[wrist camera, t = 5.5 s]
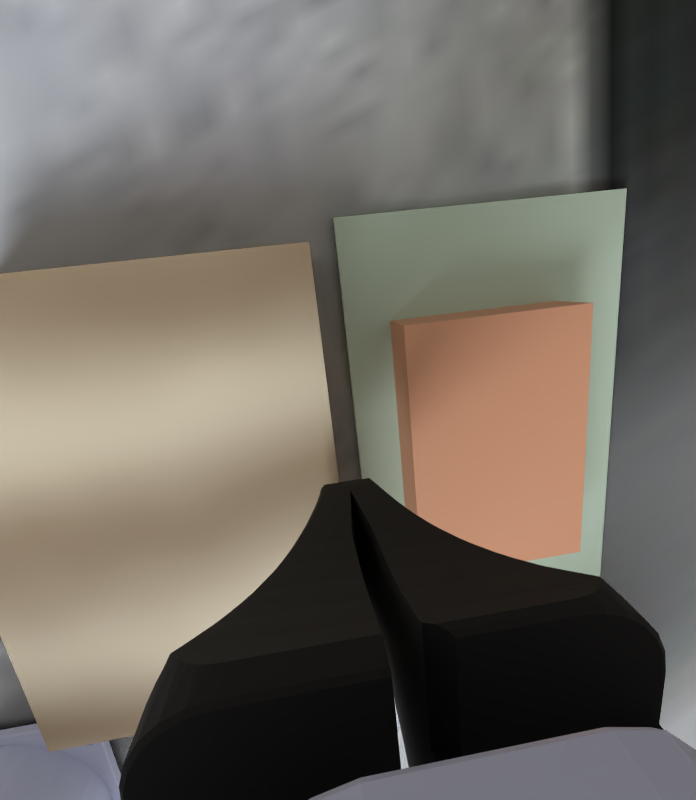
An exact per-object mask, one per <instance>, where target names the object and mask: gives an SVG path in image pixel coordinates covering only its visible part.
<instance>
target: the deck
mask: <svg viewBox="0 0 696 800" xmlns="http://www.w3.org/2000/svg"><path fill="white" fill-rule="evenodd" d="M333 483H339V476H338V468H337V460H336V452H335V444H334V436H333V428H332V420H331V412H330V404H329V396H328V388H327V380H326V373H325V365H324V357H323V349H322V341H321V333H320V325H319V317H318V309H317V301H316V293H315V285H314V277H313V269H312V261H311V253H310V245H309V241H308V242H299V243H289V244H279V245H270V246H260V247H250V248H241V249H231V250H222V251H212V252H202V253H193V254H183V255H173V256H164V257H154V258H144V259H135V260H125V261H115V262H106V263H96V264H86V265H77V266H67V267H58V268H48V269H38V270H29V271H19V272H9V273H0V637H1V639H2V641H3V644H4V646H5V648H6V651H7V653H8V656H9V658H10V660H11V663H12V665H13V668H14V670H15V672H16V675H17V677H18V679H19V682H20V684H21V687H22V689H23V691H24V694H25V696H26V699H27V701H28V703H29V706H30V708H31V710H32V713H33V715H34V718H35V720H36V722H37V725H38V727H39V730H40V732H41V734H42V737H43V739H44V742H45V744H46V746H47V749H48V751H49V752H52V751H57V750H62V749H67V748H73V747H78V746H83V745H88V744H93V743H99V742H104V741H109V740H114V739H120V738H125V737H130V736H134V735H135V732H136V729H137V727H138V724H139V721H140V719H141V716H142V713H143V711H144V708H145V705H146V703H147V701H148V699H149V696H150V694H151V692H152V690H153V688H154V685H155V683H156V681H157V679H158V677H159V676H160V674H161V672H162V670H163V668H164V666H165V664H166V661H167V659H168V657H169V655H170V654H171V653H172V652H173V651H175V650H176V649H178V648H180V647H181V646H183V645H184V644H186V643H187V642H189V641H190V640H192V639H193V638H195V637H196V636H197V635H199V634H200V633H202V632H203V631H205V630H206V629H208V628H209V627H211V626H212V625H214V624H215V623H216V622H218V621H219V620H220V619H222V618H223V617H224V616H226V615H227V614H228V613H229V612H231V611H232V610H233V609H234V608H236V607H237V606H238V605H239V604H240V603H242V602H243V601H244V600H245V599H246V598H247V597H248V596H250V595H251V594H252V593H253V592H254V591H255V590H256V589H257V588H258V587H259V586H260V585H261V584H262V583H263V582H264V581H265V580H266V579H267V578H268V577H269V576H270V575H271V574H272V573H273V572H274V571H275V569H276V568H277V567H278V566H279V564H280V563H281V562H282V561H283V559H284V558H285V557H286V555H287V554H288V553H289V551H290V550H291V548H292V547H293V546H294V544H295V543H296V541H297V539H298V538H299V536H300V534H301V533H302V531H303V529H304V528H305V526H306V524H307V522H308V520H309V518H310V516H311V514H312V512H313V510H314V508H315V506H316V503H317V501H318V498H319V495H320V491H321V488H322V487H323V486H324V485H326V484H333Z"/></svg>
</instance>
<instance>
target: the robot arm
mask: <svg viewBox="0 0 696 800" xmlns="http://www.w3.org/2000/svg"><path fill="white" fill-rule="evenodd" d="M665 672H666V665H665V649H664V647H663V644H662V642H661V639H660V637H659V634H658V633H657V632H656V631H655V630H654V628H653V627H652V626H651V625H650V624H649V623H648V622H647V621H646V620H645V619H644V618H643V617H642V616H641V615H640V614H639V613H638V612H637V611H636V610H635V609H634V608H633V607H632V606H631V605H630V604H629V603H628V602H627V601H626V600H625V599H624V598H623V597H622V596H621V595H620V594H618V593H617V592H616V591H615V590H614V589H613V588H612V587H611V586H610V585H609V584H607V583H606V582H605V581H604V580H603V579H601V578H600V577H599V576H594V575H589V574H583V573H578V572H573V571H567V570H562V569H557V568H551V567H546V566H542V565H538V564H534V563H531V562H527V561H523V560H519V559H516V558H512V557H509V556H506V555H503V554H499V553H496V552H493V551H491V550H488V549H485V548H483V547H480V546H477V545H475V544H472V543H470V542H467V541H465V540H463V539H460V538H458V537H456V536H454V535H452V534H450V533H448V532H446V531H444V530H442V529H440V528H438V527H436V526H434V525H432V524H431V523H429V522H427V521H426V520H424V519H423V518H421V517H419V516H418V515H416V514H415V513H413V512H412V511H410V510H409V509H407V508H406V507H404V506H403V505H402V504H400V503H399V502H398V501H396V500H395V499H394V498H393V497H391V496H390V495H389V494H388V493H387V492H385V491H384V490H383V489H382V488H381V487H380V486H378V485H377V484H376V483H375V482H374V481H373V480H371V479H370V478H366V479H359V480H352V481H346V482H339V483H333V484H326V485H324V486H323V487H322V488H321V491H320V495H319V498H318V501H317V503H316V506H315V508H314V510H313V512H312V514H311V516H310V518H309V520H308V522H307V524H306V526H305V528H304V529H303V531H302V533H301V534H300V536H299V538H298V539H297V541H296V543H295V544H294V546H293V547H292V548H291V550H290V551H289V553H288V554H287V555H286V557H285V558H284V559H283V561H282V562H281V563H280V564H279V566H278V567H277V568H276V569H275V571H274V572H273V573H272V574H271V575H270V576H269V577H268V578H267V579H266V580H265V581H264V582H263V583H262V584H261V585H260V586H259V587H258V588H257V589H256V590H255V591H254V592H253V593H252V594H251V595H250V596H248V597H247V598H246V599H245V600H244V601H243V602H242V603H240V604H239V605H238V606H237V607H236V608H234V609H233V610H232V611H231V612H229V613H228V614H227V615H226V616H224V617H223V618H222V619H220V620H219V621H218V622H216V623H215V624H214V625H212V626H211V627H209V628H208V629H206V630H205V631H203V632H202V633H200V634H199V635H197V636H196V637H195V638H193V639H192V640H190V641H189V642H187V643H186V644H184V645H183V646H181V647H180V648H178V649H176V650H175V651H173V652H172V653H171V654H170V655H169V657H168V659H167V661H166V664H165V666H164V668H163V670H162V672H161V674H160V676H159V677H158V679H157V681H156V683H155V685H154V688H153V690H152V692H151V694H150V696H149V699H148V701H147V703H146V705H145V708H144V711H143V713H142V716H141V719H140V721H139V724H138V727H137V729H136V732H135V735H134V738H133V740H132V743H131V746H130V748H129V751H128V754H127V756H126V759H125V762H124V765H123V769H122V774H121V773H120V771H119V768H118V765H117V762H116V760H115V757H114V754H113V751H112V748H111V746H110V743H109V741H104V742H99V743H93V744H88V745H83V746H78V747H73V748H67V749H62V750H57V751H52V752H49V751H48V749H47V746H46V744H45V742H44V739H43V737H42V734H41V732H40V730H39V727H38V725H37V723H36V724H30V725H25V726H20V727H14V728H9V729H3V730H0V800H696V750H695V749H694V748H692V747H691V746H689V745H688V744H686V743H685V742H683V741H682V740H680V739H679V738H677V737H675V736H674V735H672V734H671V733H669V732H668V731H666V730H663V728H662V727H661V726H660V725H659V720H660V712H661V705H662V697H663V689H664V682H665ZM394 699H395V703H394ZM395 704H396V709H397V713H398V718H399V723H400V728H401V733H402V737H403V742H404V747H405V752H406V757H407V762H408V767H409V768H405V769H401V761H400V752H399V742H398V732H397V722H396V713H395Z"/></svg>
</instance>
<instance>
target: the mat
mask: <svg viewBox="0 0 696 800" xmlns="http://www.w3.org/2000/svg"><path fill="white" fill-rule="evenodd" d="M626 194H627V188H625V189H615V190H605V191H595V192H585V193H575V194H565V195H555V196H545V197H535V198H525V199H515V200H505V201H495V202H485V203H475V204H465V205H454V206H444V207H434V208H424V209H414V210H404V211H394V212H384V213H374V214H364V215H354V216H344V217H334V218H333V223H334V233H335V242H336V251H337V260H338V269H339V278H340V288H341V297H342V306H343V315H344V324H345V333H346V343H347V352H348V361H349V370H350V379H351V388H352V398H353V407H354V416H355V425H356V434H357V443H358V453H359V462H360V471H361V479H366V478H370V479H371V480H373V481H374V482H375V483H376V484H377V485H378V486H380V487H381V488H382V489H383V490H384V491H385V492H387V493H388V494H389V495H390V496H391V497H393V498H394V499H395V500H396V501H398V502H399V503H400V504H402V505H403V506H404V507H405V503H404V491H403V478H402V466H401V453H400V440H399V428H398V415H397V403H396V390H395V377H394V365H393V352H392V340H391V327H390V321H392V320H401V319H409V318H417V317H426V316H434V315H442V314H450V313H459V312H467V311H475V310H483V309H492V308H500V307H508V306H517V305H525V304H533V303H541V302H550V301H568V302H588V303H593V320H592V339H591V358H590V377H589V396H588V415H587V434H586V453H585V472H584V492H583V511H582V530H581V549H580V552H576V553H570V554H565V555H559V556H553V557H547V558H541V559H535V560H530V561H527V562H531V563H534V564H538V565H542V566H546V567H551V568H557V569H562V570H567V571H573V572H578V573H583V574H589V575H594V576H599V577H600V570H601V555H602V541H603V526H604V512H605V497H606V483H607V469H608V454H609V440H610V425H611V411H612V396H613V382H614V367H615V353H616V338H617V324H618V309H619V295H620V280H621V266H622V251H623V237H624V223H625V208H626Z"/></svg>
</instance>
